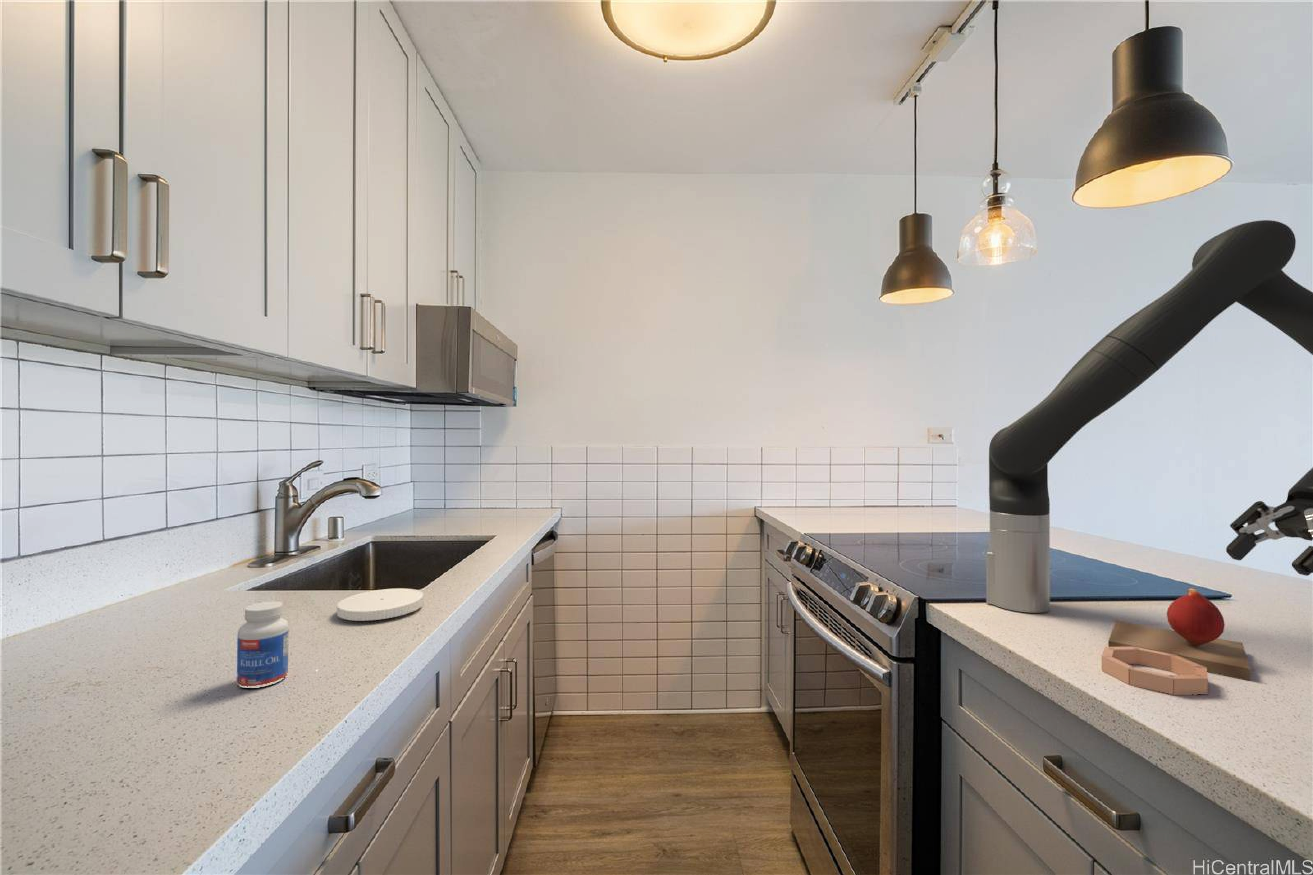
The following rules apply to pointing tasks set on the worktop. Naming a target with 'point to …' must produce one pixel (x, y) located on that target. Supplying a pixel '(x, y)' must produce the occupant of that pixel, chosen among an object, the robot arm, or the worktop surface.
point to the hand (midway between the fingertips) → (1263, 563)
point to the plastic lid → (380, 604)
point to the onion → (1195, 618)
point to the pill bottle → (262, 645)
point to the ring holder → (1185, 683)
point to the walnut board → (1184, 648)
